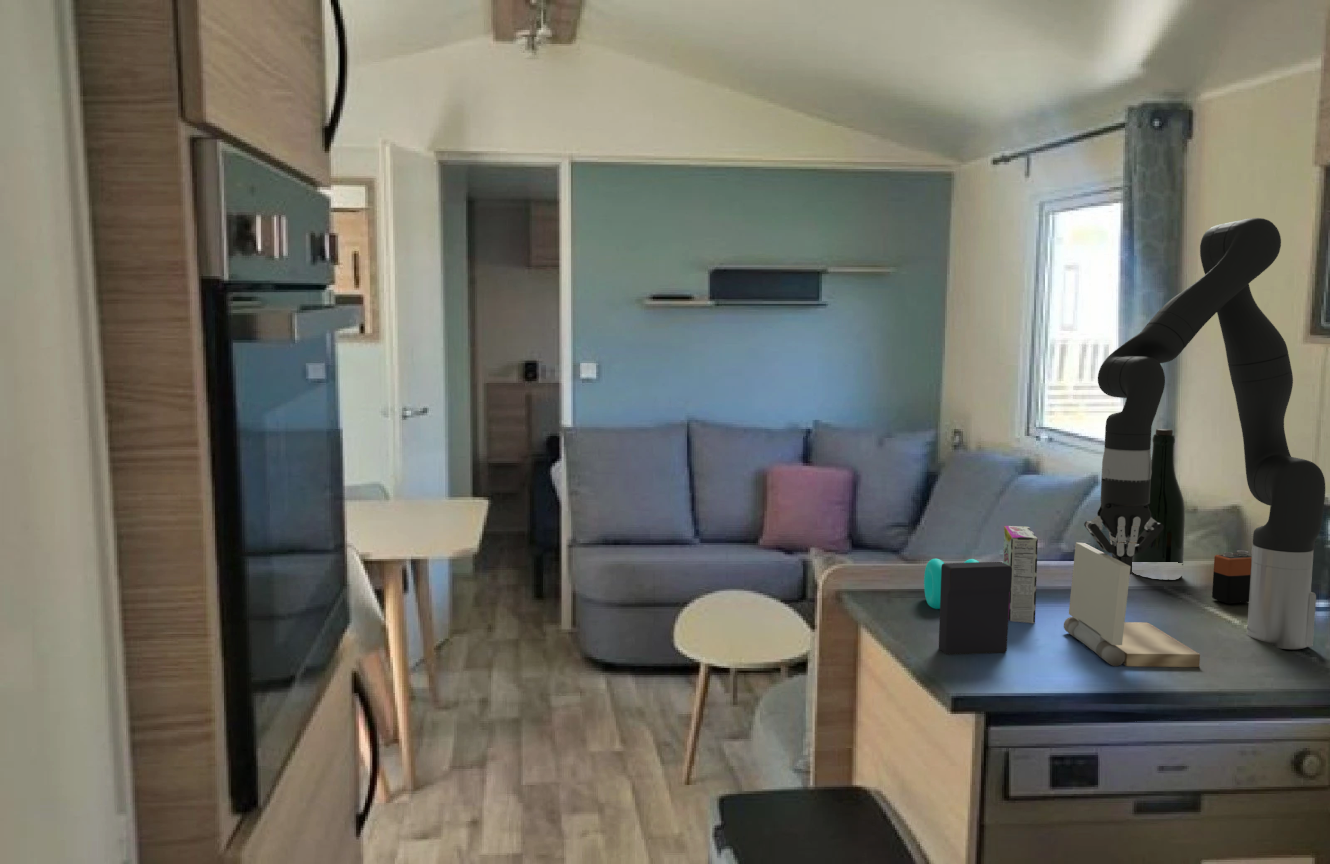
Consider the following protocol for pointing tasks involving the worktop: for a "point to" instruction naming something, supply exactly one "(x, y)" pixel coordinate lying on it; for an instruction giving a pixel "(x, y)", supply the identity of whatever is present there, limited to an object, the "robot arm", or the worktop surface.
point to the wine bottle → (1165, 504)
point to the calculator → (974, 607)
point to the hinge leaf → (1098, 596)
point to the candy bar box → (1021, 572)
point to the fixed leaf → (1143, 647)
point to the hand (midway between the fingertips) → (1121, 576)
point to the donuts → (935, 581)
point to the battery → (1232, 577)
